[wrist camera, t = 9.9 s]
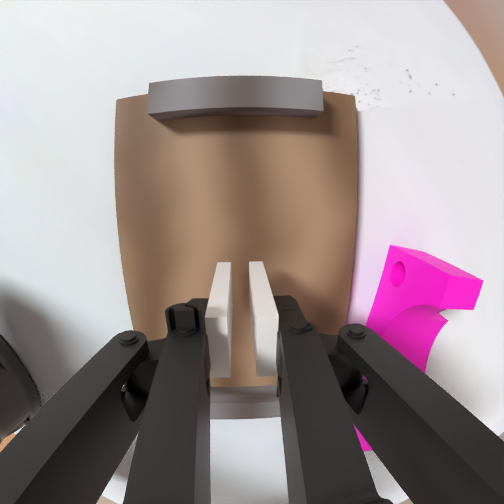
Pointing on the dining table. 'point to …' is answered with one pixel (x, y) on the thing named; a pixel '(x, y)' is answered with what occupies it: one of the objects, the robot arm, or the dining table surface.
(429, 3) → the dining table surface
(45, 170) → the dining table surface
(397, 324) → the toy block
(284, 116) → the wooden serving tray
